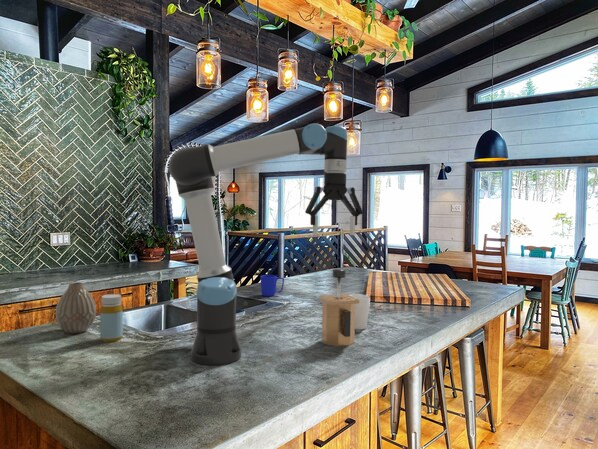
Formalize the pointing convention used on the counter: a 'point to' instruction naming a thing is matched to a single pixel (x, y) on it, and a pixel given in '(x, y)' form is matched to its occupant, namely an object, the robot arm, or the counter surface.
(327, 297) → the block
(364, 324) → the cup
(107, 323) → the bottle
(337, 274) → the plunger
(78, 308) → the vase
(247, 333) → the counter surface
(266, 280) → the mug
